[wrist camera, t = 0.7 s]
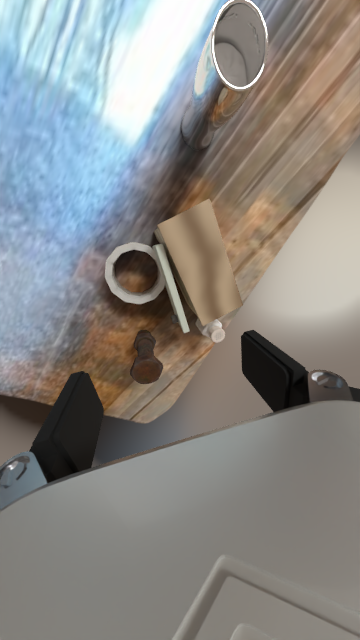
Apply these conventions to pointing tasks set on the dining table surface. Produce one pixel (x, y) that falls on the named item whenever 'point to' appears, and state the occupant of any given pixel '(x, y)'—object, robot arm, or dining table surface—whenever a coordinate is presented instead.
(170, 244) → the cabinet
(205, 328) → the pepper shaker
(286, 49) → the dining table surface
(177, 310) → the grey piece
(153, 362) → the bolt
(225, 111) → the silver tall cylinder
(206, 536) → the robot arm
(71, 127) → the dining table surface
